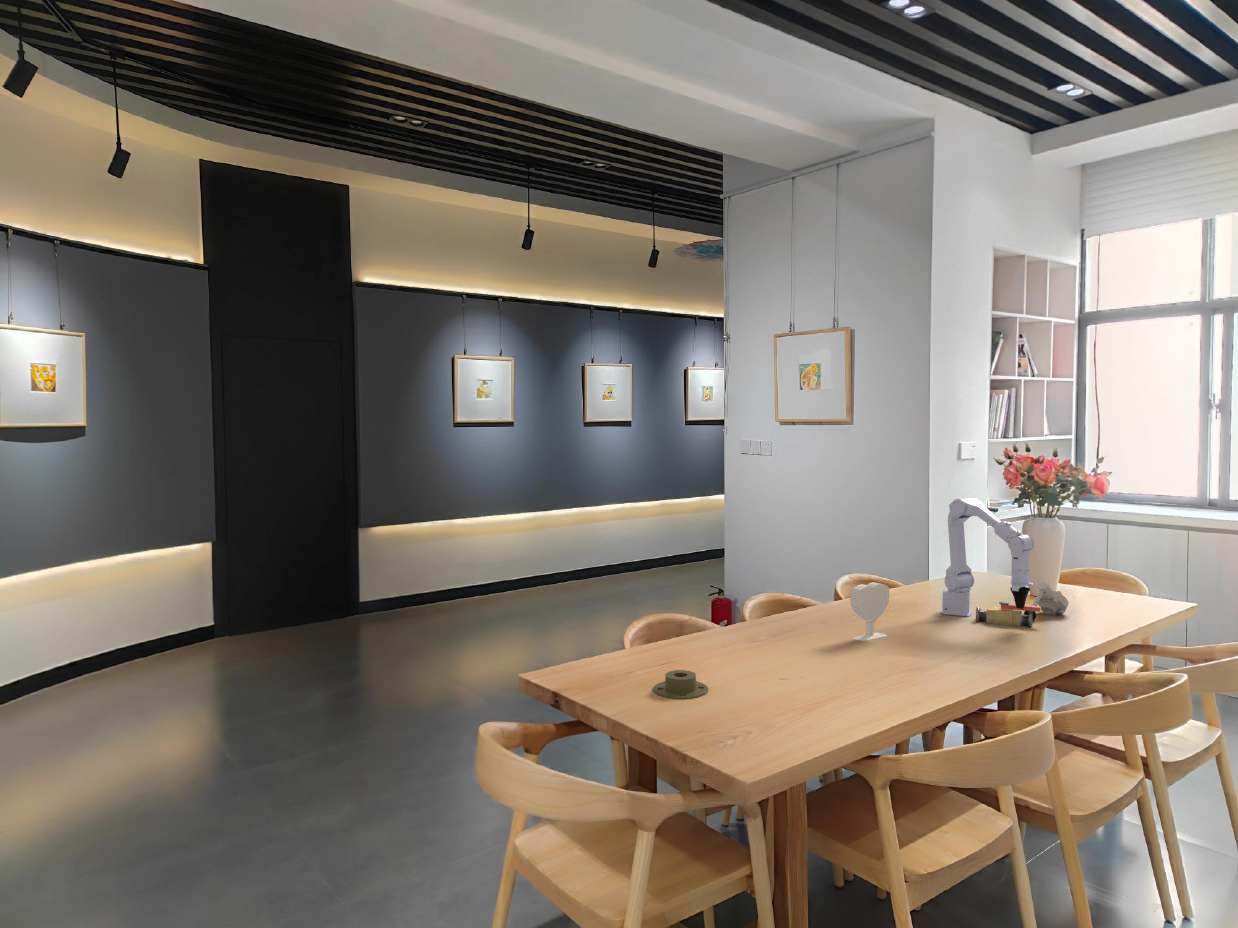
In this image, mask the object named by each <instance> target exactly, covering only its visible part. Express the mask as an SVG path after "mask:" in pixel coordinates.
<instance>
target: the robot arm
mask: <svg viewBox="0 0 1238 928" xmlns="http://www.w3.org/2000/svg"><path fill="white" fill-rule="evenodd" d="M948 505H949V513H948V515H947V527H948V528H947V529H948V544H949V558H950V565H949V566H948V568H947V569H945V577H944V585H945V587H946V589H945V588H944V589H943V590H942V602H941V603H942V605H941V608H942V609H941V611H942V612H941V614H942V615H950V616H951V615H952V616H958V617H959V616H961V617H970V616H971V614H972V612H973V611H972V610H970V605H971V603H970V596H971V595H970V594H971V593H970V591H971V589H972V587H973V586H974V584H975V577H974V576H973V572H972V568H971V567H970V566H969V565H968V564H967V555H966V553H967V552H966V537H965V524H964V523H965V522H966V521H968V519H969V518H971V517H977V518H979V519H980V520H981V521H983V522H984V523H986V524H988V526H990V527H991V528H992V529H993V530H994V534H995V535H996V536H998V537H999V538H1000V539H1001V540H1002V541H1004V542H1005V543H1006V544H1007V547H1008V549H1009V551H1010V555H1011V575H1010V576H1011V581H1010V584H1011V587H1010V589H1009V590H1010V592H1011V594H1012V596H1013V600H1014V604H1015V605H1016V608H1020V609H1023V608H1024V606H1025V605H1026V600H1027V598H1028V595H1029V593H1030V591H1031V587H1028V586H1034V582H1031V581H1030V580H1031V577H1030V576H1031V575H1030V574H1031V550H1033V548H1034V546H1035V542H1034V539H1033V538H1032V537H1031V535H1030V534H1027V533H1026V534H1023V532H1022V531H1020V530H1018V529H1017V528H1016V527H1014V526H1013V525H1012V523H1011V522H1010V521H1005V520H1003V521H1001V520H1000V519H999V518H998V517H997V516H996V515H995V514H993V513H992V511H990V510H989V509H988V508H987V507H985V504H984V503H983V502H982V501H981V500H979V499H978V498H976V497H973V496H972V497H967V498H955V499H954V500H953V501H952V502H950V503H949V504H948Z"/></svg>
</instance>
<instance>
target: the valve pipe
mask: <svg viewBox="0 0 1238 928" xmlns="http://www.w3.org/2000/svg"><path fill="white" fill-rule="evenodd" d="M1022 613H1023V610H1011V609H1001V606H994V607H993V606H987V608H986V610H985V611H984V610H981V607H979V606H977V607H976V609H975V622H976V623H980V622H986V623H987V624H993V625H1001V626H1016V627H1021V626H1028V628H1032V627H1033V623H1034V622H1033V621H1034V620H1033V613H1032V612H1029V615H1024V614H1022Z"/></svg>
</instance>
